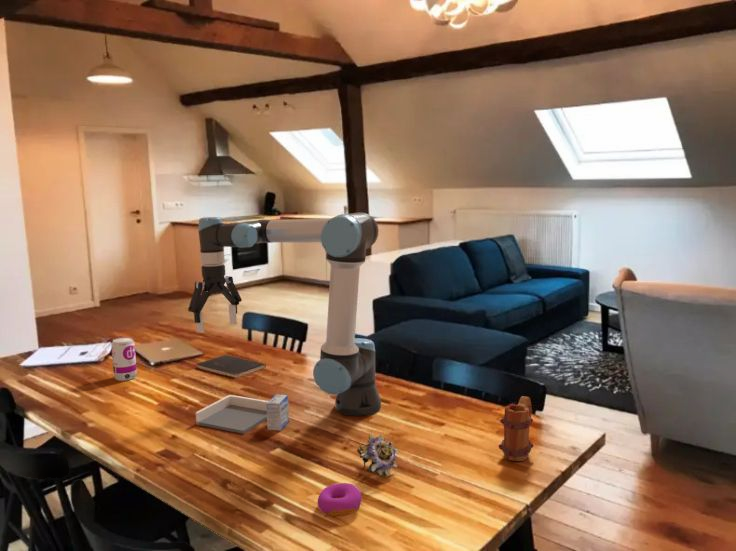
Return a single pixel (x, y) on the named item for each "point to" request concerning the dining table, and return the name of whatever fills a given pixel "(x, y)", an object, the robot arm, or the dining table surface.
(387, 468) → the passion flower
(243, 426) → the tray
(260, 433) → the dining table surface
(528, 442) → the mug
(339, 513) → the donut
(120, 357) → the supplement can
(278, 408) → the medicine box
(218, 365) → the hardcover book
